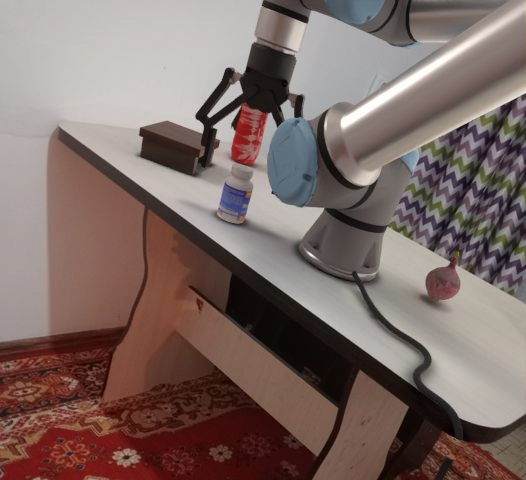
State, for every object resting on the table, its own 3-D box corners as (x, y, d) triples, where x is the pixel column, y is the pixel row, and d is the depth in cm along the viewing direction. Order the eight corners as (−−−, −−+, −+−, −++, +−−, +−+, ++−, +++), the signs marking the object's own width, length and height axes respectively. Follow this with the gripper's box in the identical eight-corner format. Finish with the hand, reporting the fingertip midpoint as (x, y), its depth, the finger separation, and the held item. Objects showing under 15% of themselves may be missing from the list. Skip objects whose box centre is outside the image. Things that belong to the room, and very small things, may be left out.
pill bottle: (243, 227, 87) (257, 175, 81) (215, 218, 86) (228, 166, 80) (244, 217, 91) (258, 168, 86) (218, 209, 90) (230, 159, 85)
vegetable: (423, 289, 89) (450, 242, 83) (452, 305, 86) (481, 258, 81) (411, 296, 84) (439, 246, 79) (442, 313, 82) (472, 263, 76)
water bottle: (215, 150, 128) (238, 47, 115) (237, 153, 134) (262, 55, 120) (239, 166, 122) (268, 60, 108) (262, 169, 127) (292, 67, 113)
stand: (194, 177, 103) (200, 149, 99) (135, 155, 103) (139, 127, 99) (214, 164, 116) (220, 140, 113) (162, 145, 116) (166, 120, 113)
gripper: (350, 75, 76) (305, 198, 88) (208, 21, 76) (183, 152, 88) (348, 76, 70) (300, 208, 81) (194, 17, 70) (168, 158, 81)
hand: (239, 179), depth 85 cm, fingers open, 13 cm apart
